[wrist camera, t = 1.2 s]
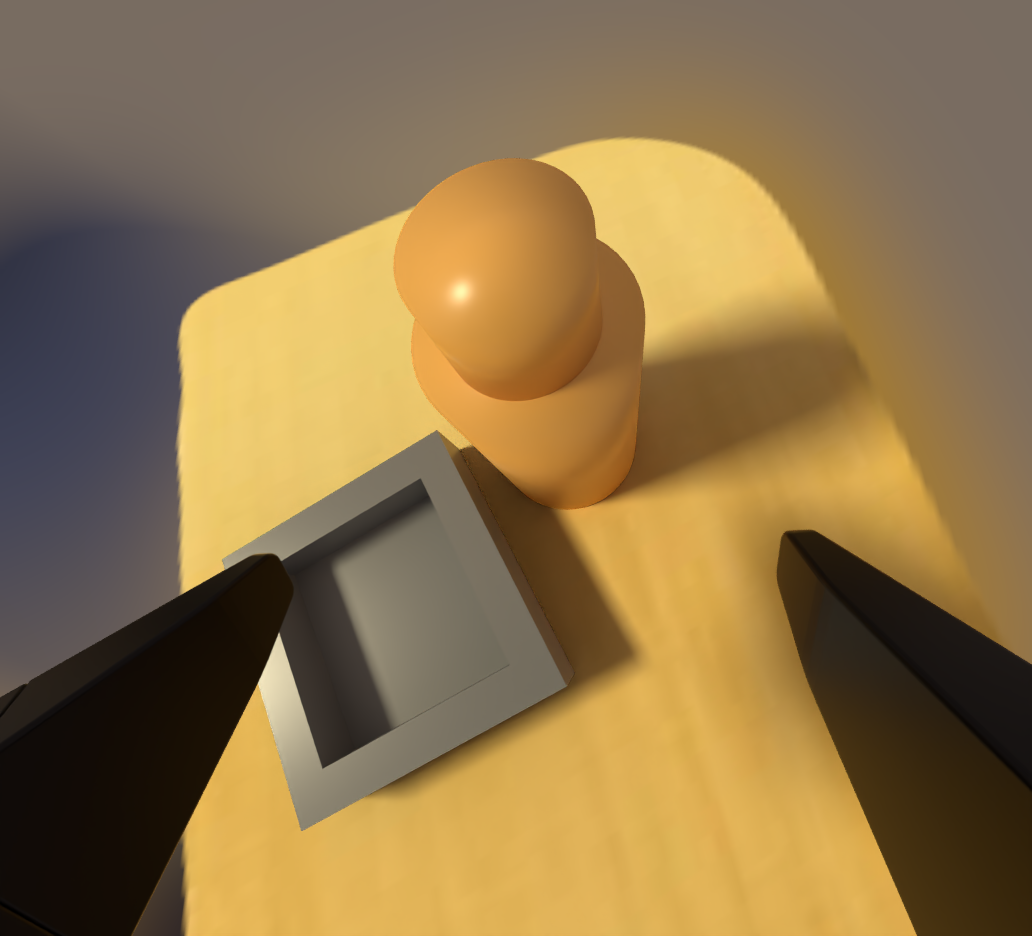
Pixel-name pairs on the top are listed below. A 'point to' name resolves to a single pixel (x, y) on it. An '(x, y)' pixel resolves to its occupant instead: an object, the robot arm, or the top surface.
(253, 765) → the top surface
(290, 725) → the socket
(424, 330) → the peach lotion bottle
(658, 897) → the top surface
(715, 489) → the top surface
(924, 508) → the top surface
